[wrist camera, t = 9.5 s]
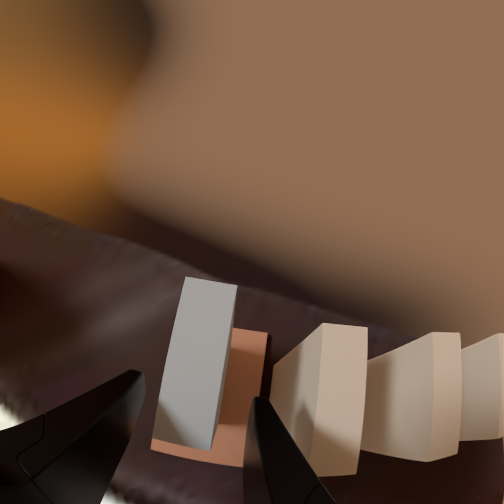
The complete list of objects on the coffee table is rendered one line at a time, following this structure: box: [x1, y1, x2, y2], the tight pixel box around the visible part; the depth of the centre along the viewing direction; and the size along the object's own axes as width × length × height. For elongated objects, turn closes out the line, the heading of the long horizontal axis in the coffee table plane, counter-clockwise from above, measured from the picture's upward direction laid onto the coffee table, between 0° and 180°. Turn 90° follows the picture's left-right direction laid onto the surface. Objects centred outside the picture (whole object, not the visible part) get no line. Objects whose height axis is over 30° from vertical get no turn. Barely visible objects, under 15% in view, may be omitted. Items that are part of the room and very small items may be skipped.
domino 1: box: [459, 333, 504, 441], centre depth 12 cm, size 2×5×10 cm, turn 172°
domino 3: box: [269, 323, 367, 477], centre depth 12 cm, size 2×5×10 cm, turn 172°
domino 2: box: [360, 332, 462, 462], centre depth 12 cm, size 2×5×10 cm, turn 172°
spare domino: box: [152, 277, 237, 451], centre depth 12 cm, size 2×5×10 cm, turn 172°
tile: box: [151, 328, 267, 467], centre depth 16 cm, size 9×6×1 cm, turn 172°
